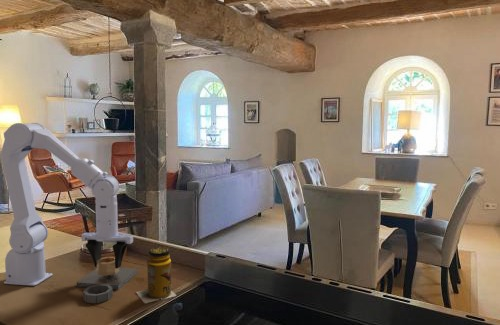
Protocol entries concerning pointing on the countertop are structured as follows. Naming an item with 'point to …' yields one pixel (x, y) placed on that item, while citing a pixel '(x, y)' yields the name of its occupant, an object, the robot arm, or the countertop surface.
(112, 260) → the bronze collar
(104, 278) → the piston stand
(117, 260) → the robot arm
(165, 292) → the condiment
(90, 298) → the grey octagonal ring
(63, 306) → the countertop surface
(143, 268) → the countertop surface
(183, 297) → the countertop surface
